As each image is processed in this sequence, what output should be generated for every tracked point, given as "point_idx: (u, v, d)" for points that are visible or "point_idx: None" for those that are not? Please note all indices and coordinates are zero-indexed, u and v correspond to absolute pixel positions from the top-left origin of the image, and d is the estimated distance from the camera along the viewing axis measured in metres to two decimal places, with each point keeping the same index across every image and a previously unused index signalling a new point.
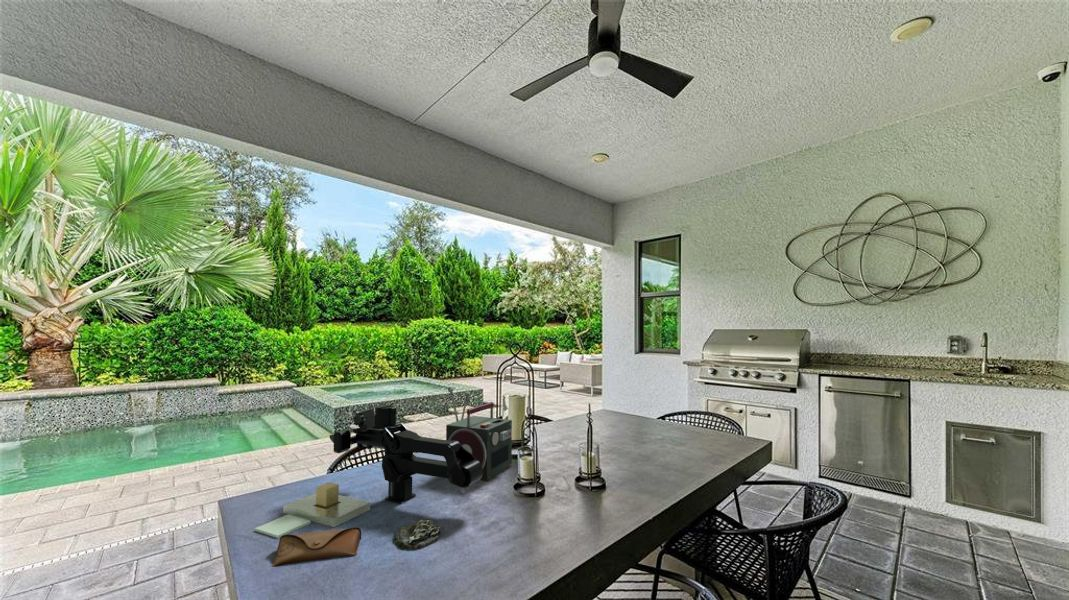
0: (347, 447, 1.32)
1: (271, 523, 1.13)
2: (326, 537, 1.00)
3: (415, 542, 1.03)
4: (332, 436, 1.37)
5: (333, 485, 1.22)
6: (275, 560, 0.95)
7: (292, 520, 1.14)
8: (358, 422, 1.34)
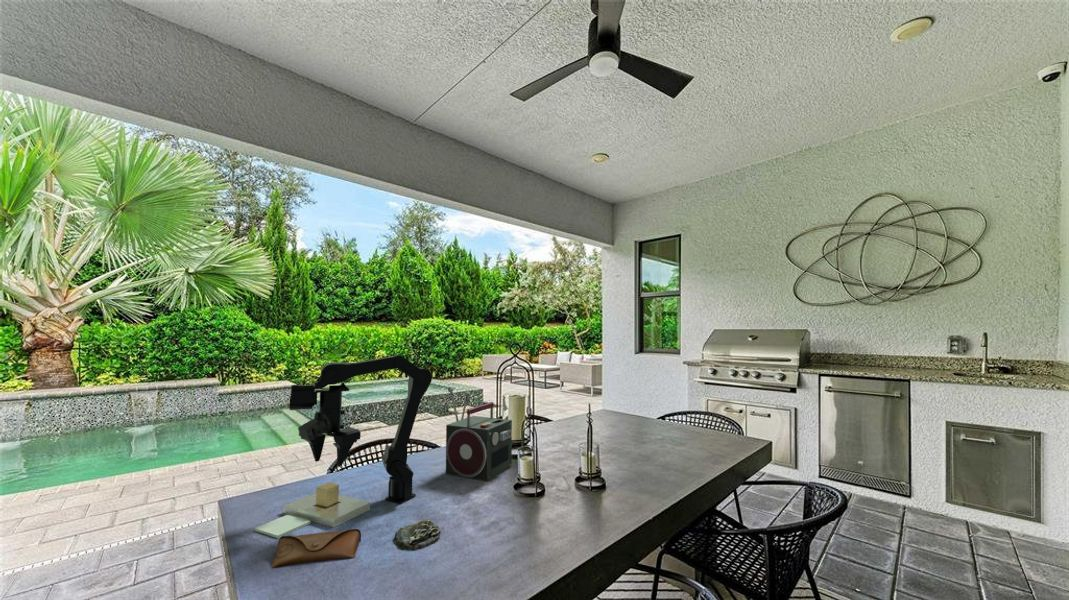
0: (351, 428, 1.22)
1: (271, 523, 1.13)
2: (325, 538, 0.99)
3: (415, 542, 1.03)
4: (340, 459, 1.20)
5: (333, 485, 1.22)
6: (274, 562, 0.94)
7: (292, 520, 1.14)
8: (323, 426, 1.16)
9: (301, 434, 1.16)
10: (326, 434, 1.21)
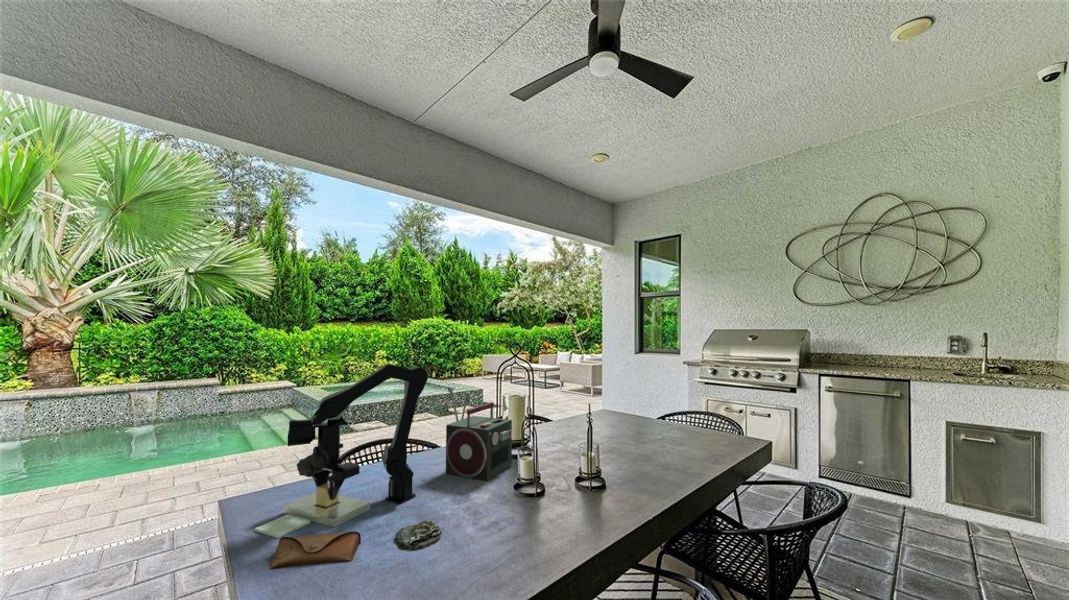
0: (350, 463, 1.21)
1: (271, 523, 1.13)
2: (323, 540, 0.98)
3: (416, 543, 1.03)
4: (333, 493, 1.20)
5: None
6: (272, 563, 0.94)
7: (292, 520, 1.14)
8: (322, 462, 1.16)
9: (300, 471, 1.16)
10: (331, 470, 1.19)
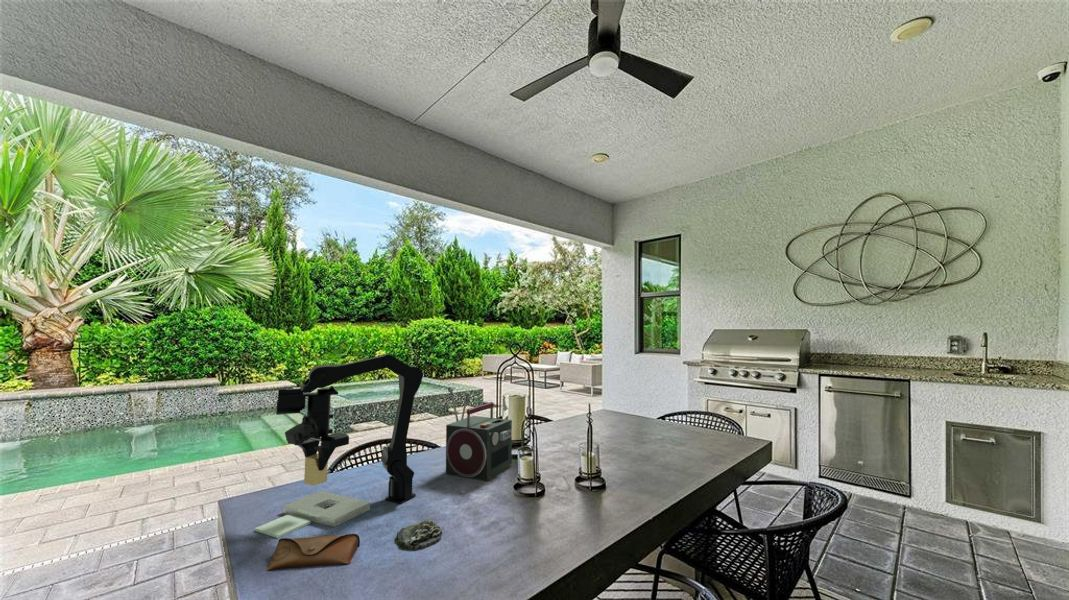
0: (339, 433, 1.19)
1: (271, 523, 1.13)
2: (321, 543, 0.97)
3: (416, 542, 1.02)
4: (322, 463, 1.18)
5: None
6: (269, 564, 0.93)
7: (292, 520, 1.14)
8: (310, 430, 1.14)
9: (288, 439, 1.14)
10: (320, 440, 1.17)
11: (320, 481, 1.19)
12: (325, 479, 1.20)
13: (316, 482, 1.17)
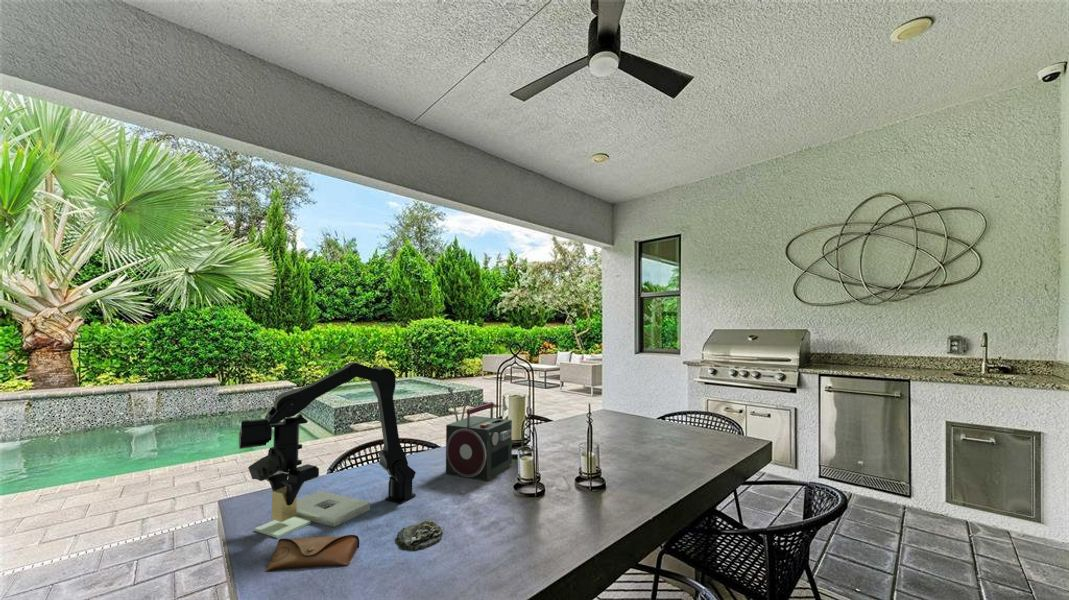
0: (308, 465, 1.12)
1: (271, 523, 1.13)
2: (320, 543, 0.97)
3: (416, 543, 1.02)
4: (290, 497, 1.11)
5: None
6: (269, 565, 0.93)
7: (292, 520, 1.14)
8: (276, 464, 1.06)
9: (252, 474, 1.06)
10: (287, 473, 1.10)
11: (288, 516, 1.11)
12: (294, 514, 1.13)
13: (284, 518, 1.10)
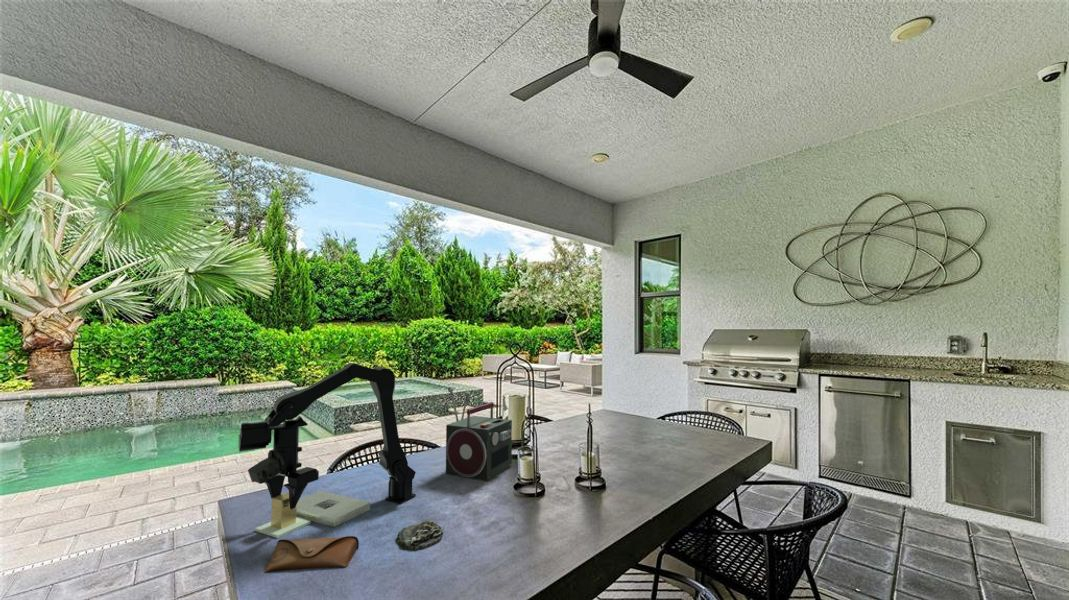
0: (308, 468, 1.12)
1: None
2: (320, 545, 0.96)
3: (417, 543, 1.02)
4: (293, 501, 1.10)
5: None
6: (267, 566, 0.93)
7: None
8: (275, 467, 1.06)
9: (251, 477, 1.06)
10: (284, 475, 1.10)
11: (288, 523, 1.11)
12: (293, 521, 1.13)
13: (283, 525, 1.10)
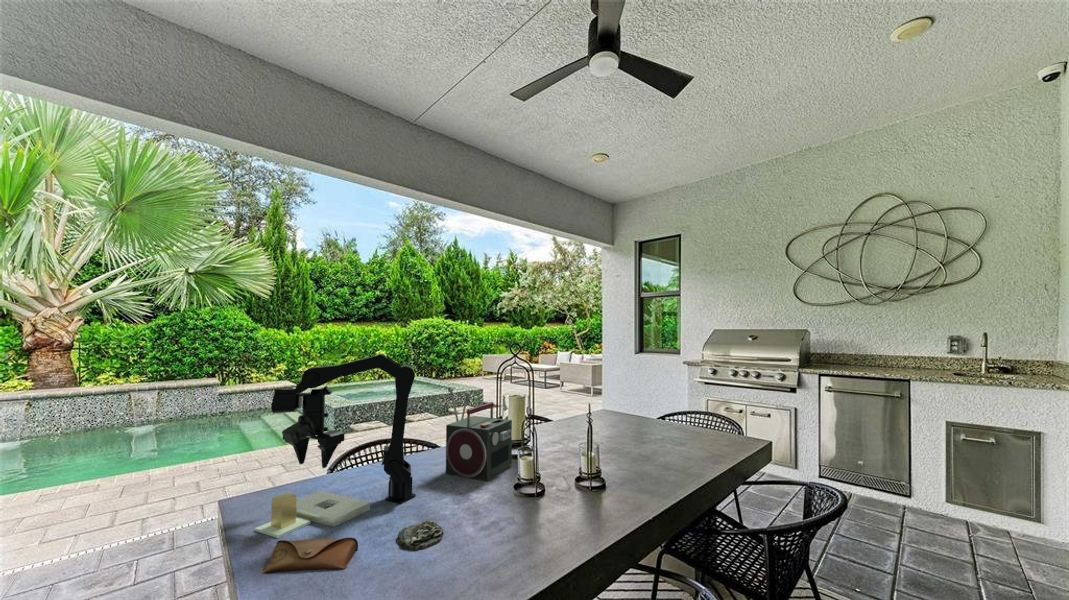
0: (335, 430, 1.24)
1: None
2: (318, 546, 0.96)
3: (417, 543, 1.02)
4: (325, 461, 1.22)
5: (290, 496, 1.13)
6: (266, 567, 0.92)
7: None
8: (307, 429, 1.19)
9: (285, 438, 1.18)
10: (310, 437, 1.23)
11: (288, 523, 1.11)
12: (293, 521, 1.13)
13: (283, 525, 1.10)
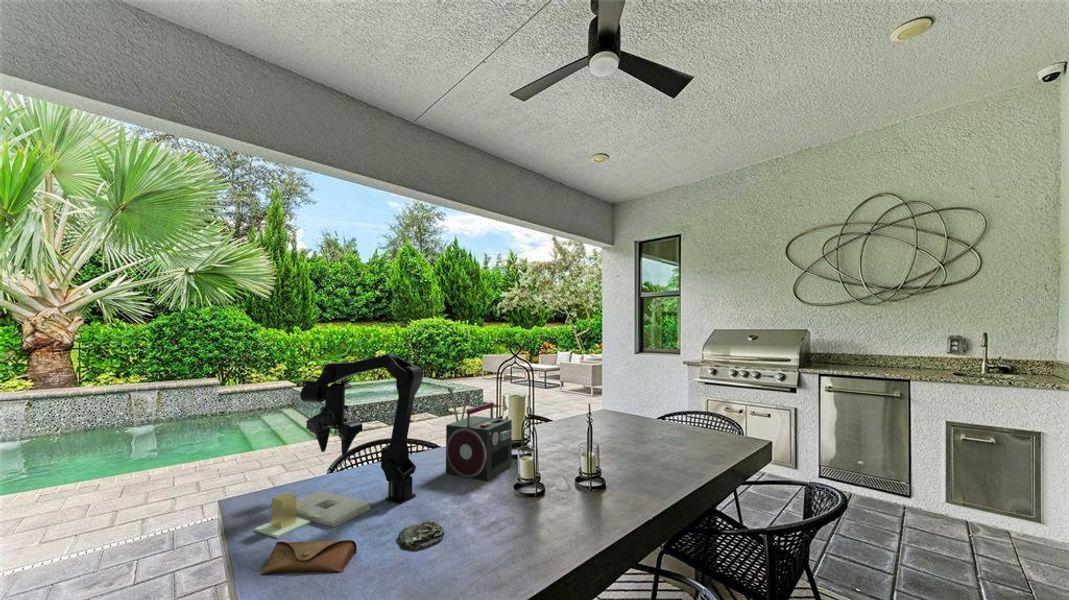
0: (354, 421, 1.35)
1: None
2: (316, 548, 0.95)
3: (417, 543, 1.02)
4: (344, 449, 1.33)
5: (290, 496, 1.13)
6: (264, 568, 0.92)
7: None
8: (329, 419, 1.30)
9: (309, 427, 1.29)
10: (331, 427, 1.34)
11: (288, 523, 1.11)
12: (293, 521, 1.13)
13: (283, 525, 1.10)
